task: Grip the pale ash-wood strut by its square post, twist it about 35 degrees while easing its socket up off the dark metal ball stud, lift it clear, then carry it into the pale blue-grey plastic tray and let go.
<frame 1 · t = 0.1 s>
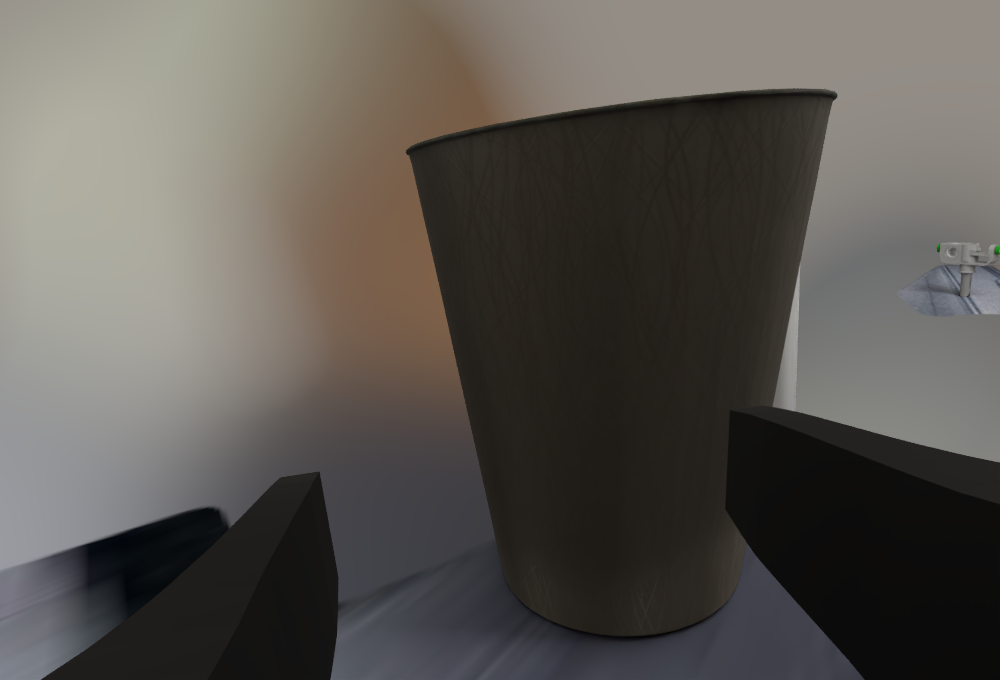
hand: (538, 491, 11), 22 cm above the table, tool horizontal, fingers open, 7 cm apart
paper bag: (717, 434, 65), on the table
mechanical component: (964, 297, 118), on the table
waste basket: (611, 560, 45), on the table
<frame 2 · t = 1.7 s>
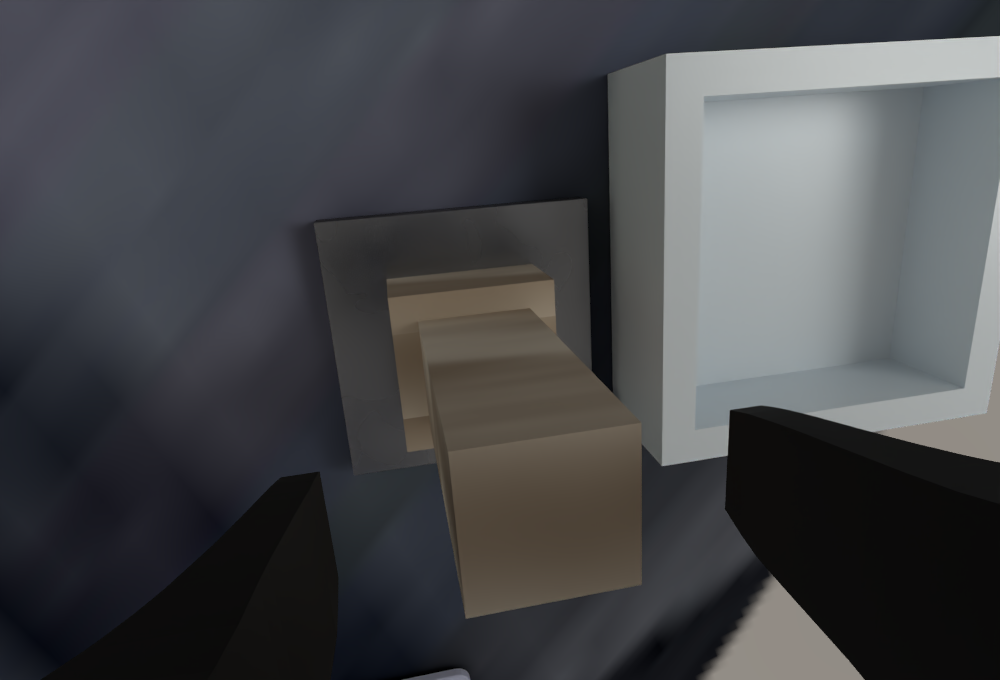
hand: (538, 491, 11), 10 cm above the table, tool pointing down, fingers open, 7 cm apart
tray: (765, 240, 21), on the table
strut: (467, 341, 19), point 1 cm above the table, touching stud plate
stud plate: (463, 334, 20), on the table
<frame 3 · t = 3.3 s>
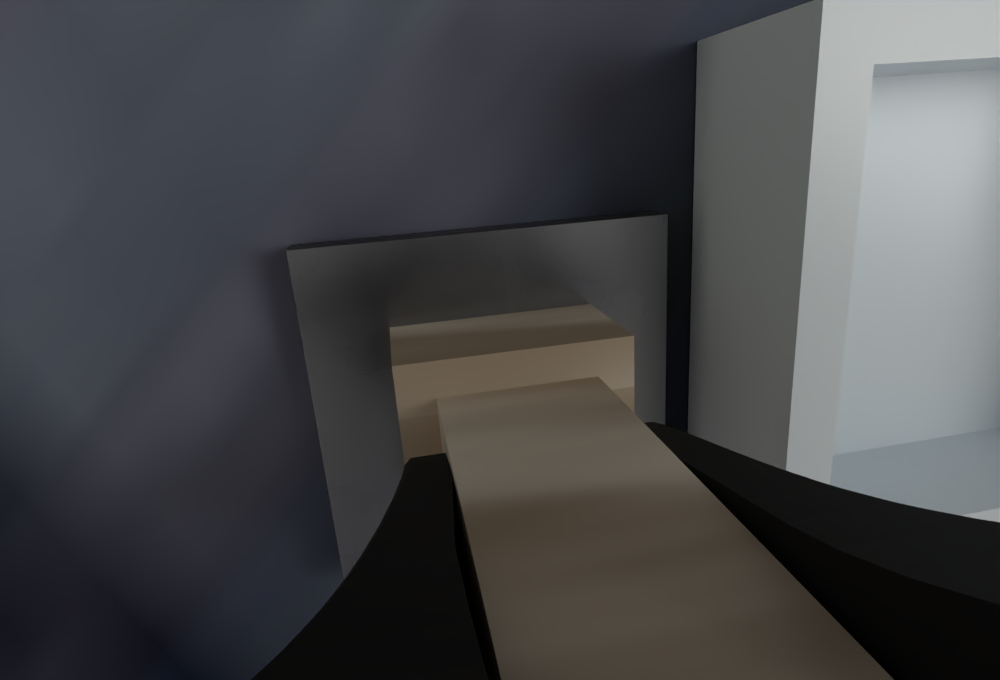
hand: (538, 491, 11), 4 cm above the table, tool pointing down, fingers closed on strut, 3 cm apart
tray: (892, 267, 16), on the table
strut: (499, 409, 14), point 1 cm above the table, touching gripper, stud plate
stud plate: (493, 395, 15), on the table
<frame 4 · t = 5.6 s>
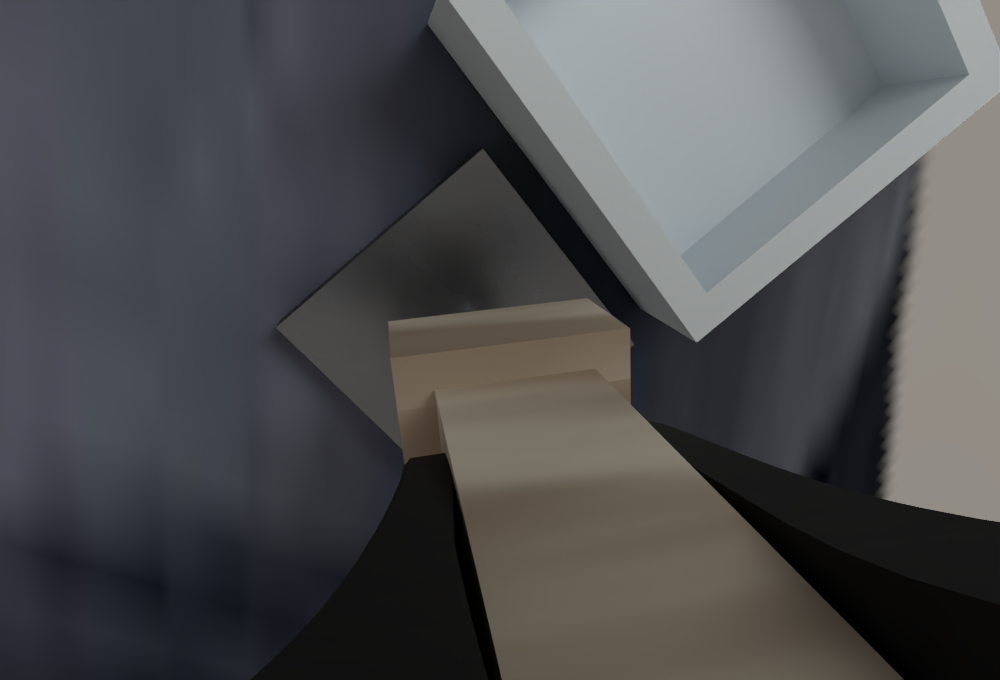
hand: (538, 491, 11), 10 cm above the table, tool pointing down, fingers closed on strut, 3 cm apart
tray: (681, 61, 19), on the table
strut: (497, 402, 14), point 6 cm above the table, touching gripper
stud plate: (462, 329, 20), on the table
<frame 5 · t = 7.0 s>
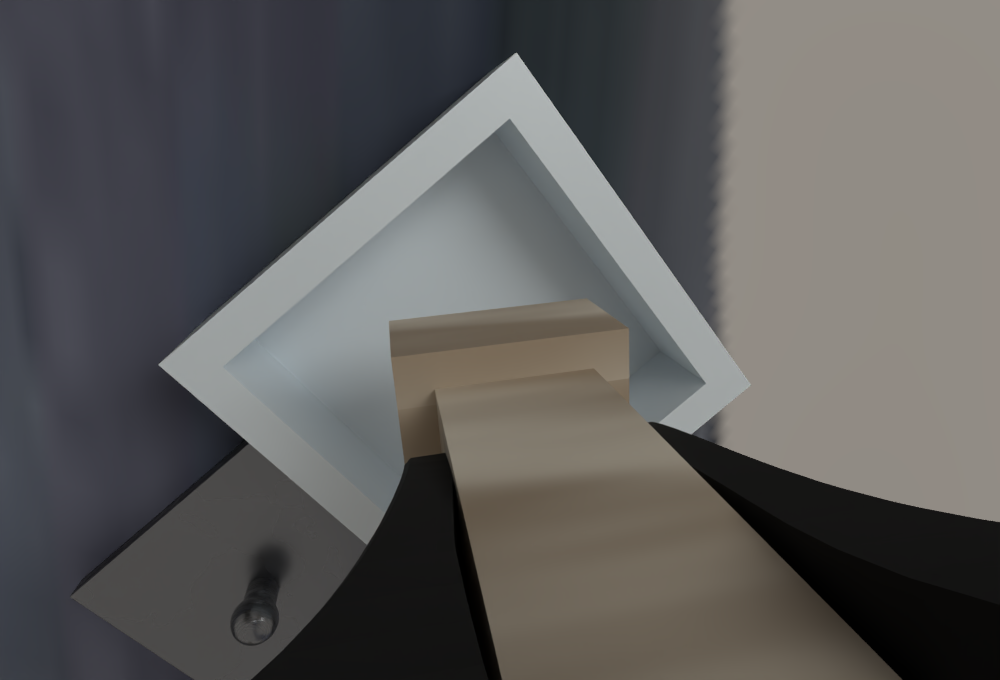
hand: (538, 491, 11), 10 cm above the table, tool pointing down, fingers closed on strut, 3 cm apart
tray: (464, 333, 20), on the table
strut: (497, 401, 14), point 6 cm above the table, touching gripper
stud plate: (267, 574, 21), on the table
when the fingers open (6 cm above the table, at t = 8.2 s): strut drops 1 cm, resting on tray.
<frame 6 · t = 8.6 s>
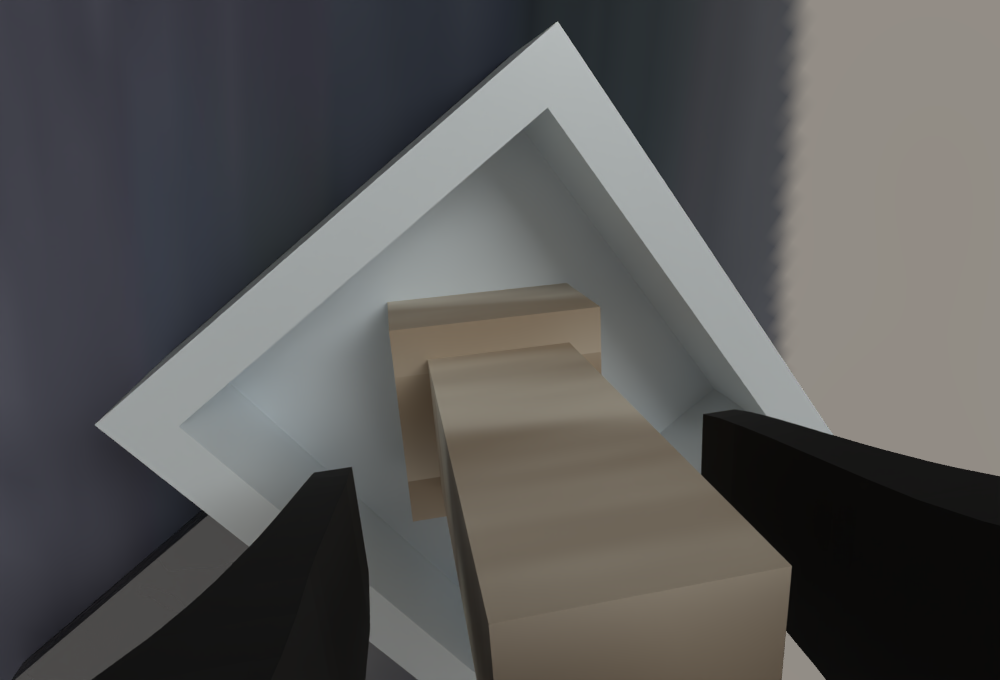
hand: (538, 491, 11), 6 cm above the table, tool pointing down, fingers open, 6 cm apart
tray: (480, 368, 17), on the table
strut: (485, 376, 16), point 1 cm above the table, touching tray
stud plate: (246, 650, 18), on the table
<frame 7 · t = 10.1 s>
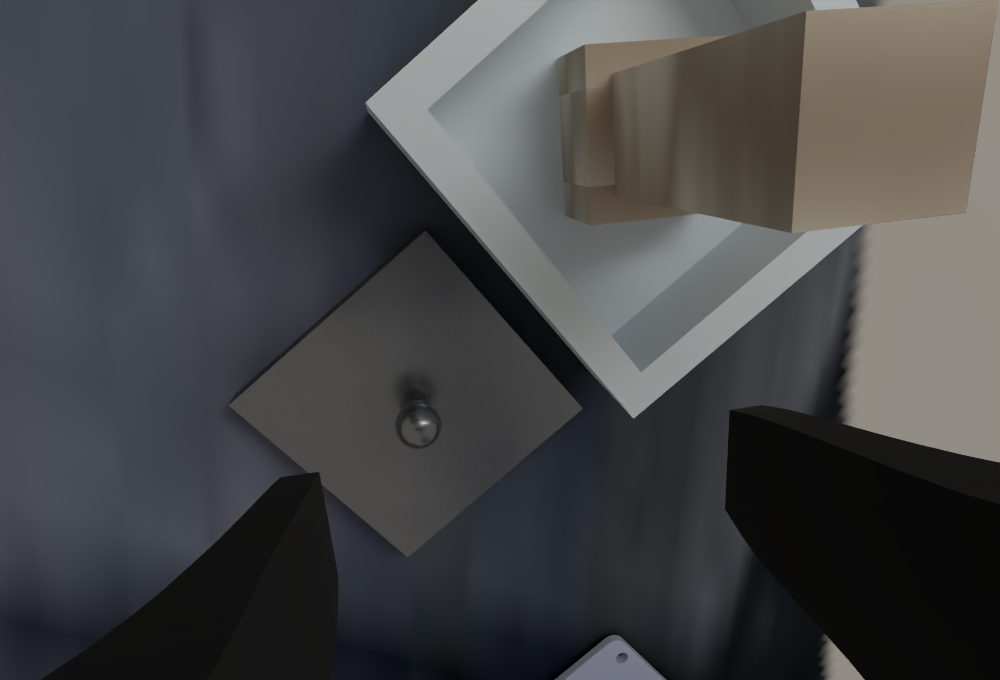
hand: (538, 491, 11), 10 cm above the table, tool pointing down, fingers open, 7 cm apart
tray: (621, 138, 19), on the table
strut: (632, 133, 18), point 1 cm above the table, touching tray
stud plate: (414, 397, 21), on the table
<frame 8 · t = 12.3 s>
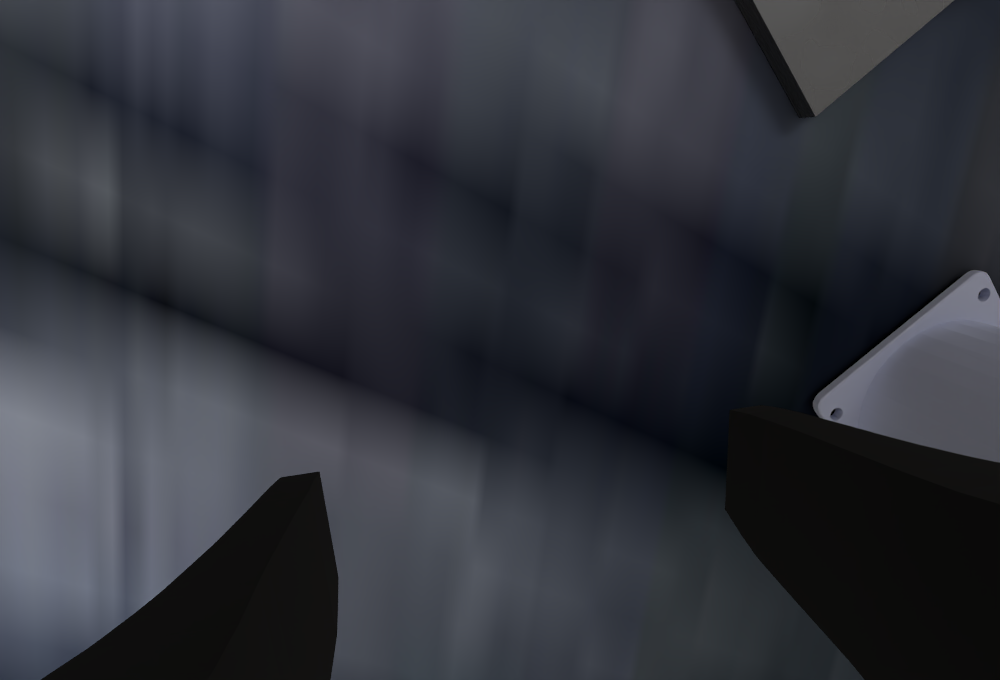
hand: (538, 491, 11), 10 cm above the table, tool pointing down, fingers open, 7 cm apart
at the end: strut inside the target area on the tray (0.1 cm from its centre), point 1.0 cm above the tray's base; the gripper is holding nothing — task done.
